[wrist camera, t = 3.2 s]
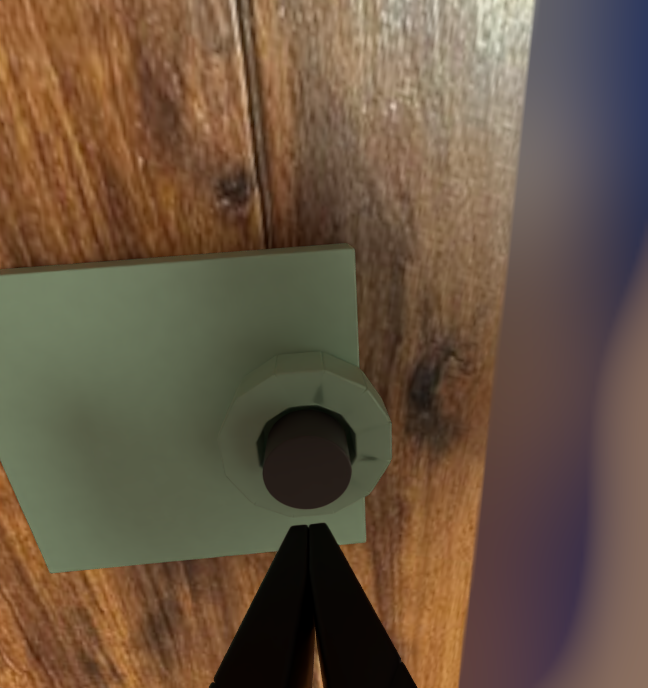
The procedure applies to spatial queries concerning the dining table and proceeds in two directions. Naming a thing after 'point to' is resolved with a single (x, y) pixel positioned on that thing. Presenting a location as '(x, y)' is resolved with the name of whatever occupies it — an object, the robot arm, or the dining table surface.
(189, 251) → the dining table surface
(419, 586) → the dining table surface
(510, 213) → the dining table surface
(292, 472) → the button
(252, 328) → the scale
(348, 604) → the robot arm
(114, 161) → the dining table surface
